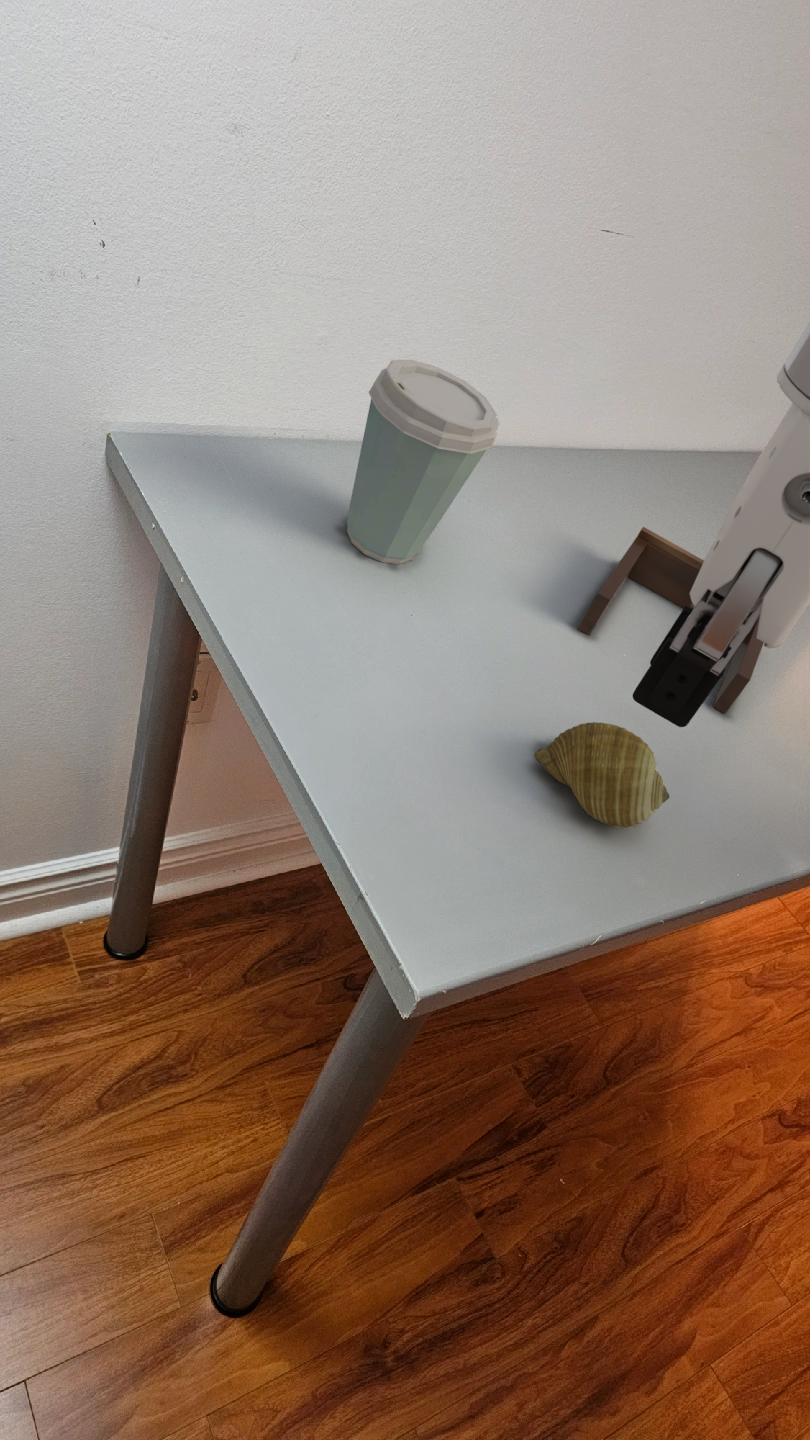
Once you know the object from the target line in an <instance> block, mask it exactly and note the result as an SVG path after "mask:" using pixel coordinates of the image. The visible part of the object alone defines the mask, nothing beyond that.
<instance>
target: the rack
mask: <svg viewBox="0 0 810 1440" xmlns="http://www.w3.org/2000/svg"><path fill="white" fill-rule="evenodd" d="M704 560H705V559H703V558H700V557H699V556H697V555H695V554H693V553H691V552H690V551H688V550H686V549H685V548H683V547H680V546H679V545H677V544H676V543H673V542H672V541H670V540H668V539H666V538H665V537H663V536H661V535H659V534H658V533H655V532H654V531H652V530H650V529H649V528H647V527H645V526H642V528H640V530H639V532H638V534H637V536H636V537H635V538H634V540H633V542H632V543H631V544H630V546H629V548H628V549H627V550H626V552H625V553H624V554H623V556H622V557H621V558H620V560H619V562H618V563H617V564H616V565H615V567H614V568H613V570H612V571H611V573H610V575H609V576H608V578H606V580H605V582H604V583H603V584H602V586H601V587H600V589H599V590H598V592H597V594H596V595H595V597H594V598H593V600H592V602H591V604H590V605H589V607H588V608H587V611H586V613H585V614H584V616H583V618H582V619H581V621H580V624H579V625H578V627H577V629H578V630H579V631H580V632H583V634H586V635H588V636H591V634H592V632H593V631H594V630H595V628H596V627H597V625H598V624H599V622H600V621H601V619H602V617H603V616H604V614H605V613H606V611H607V610H608V608H609V607H610V605H611V604H612V603H613V601H614V599H615V598H616V596H617V595H618V593H619V592H620V591H621V589H622V587H623V586H624V585H625V583H626V581H627V580H628V578H630V579H631V580H633V581H634V582H636V583H638V584H640V585H641V586H643V587H645V588H647V589H648V590H650V591H652V592H654V593H655V594H657V595H659V596H660V597H662V598H664V599H666V600H668V601H669V602H672V603H673V604H675V605H677V606H679V607H680V608H682V609H684V607H685V606H687V607H689V608H690V609H692V610H693V609H694V608H693V607H692V606H691V604H692V601H691V597H690V591H691V589H692V587H693V585H694V582H695V580H696V578H697V576H698V573H699V571H700V569H701V567H702V564H703V562H704ZM759 619H760V617H759V618H758V619H757V621H756V622H755V624H754V625H753V627H752V628H751V630H750V632H749V633H748V634H747V635H746V637H745V638H744V640H743V641H742V643H741V644H740V646H739V647H738V648H737V650H736V651H735V653H734V654H733V656H732V657H731V661H730V664H729V666H728V668H727V671H726V674H725V675H724V678H723V681H722V683H721V686H720V688H719V691H718V694H717V696H716V698H715V700H714V703H713V705H712V708H713V709H715V710H717V711H719V712H721V713H723V714H727V712H728V711H729V710H730V708H731V707H732V705H733V704H734V703H735V702H736V701H737V700H738V697H739V696H740V694H741V693H742V692H743V691H744V689H745V688H746V687H747V685H748V684H749V683H750V682H751V679H752V676H753V673H754V671H755V668H756V665H757V662H758V660H759V657H760V654H761V652H762V649H763V646H764V642H762V641H761V640H759V639H757V638H756V637H757V631H758V625H759Z"/></svg>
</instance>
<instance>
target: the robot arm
mask: <svg viewBox="0 0 810 1440" xmlns="http://www.w3.org/2000/svg"><path fill="white" fill-rule="evenodd" d="M776 382H777V384H778V385H779V388H780V389H781V391H782V392H783V394H784V395H785V396H786V397H787V399H789V401H790V402H792V403H791V405H790V406H789V408H788V409H787V411H786V412H785V415H784V416H783V418H782V419H781V421H780V423H779V424H778V425H777V427H776V428H775V431H774V432H773V434H772V436H771V437H770V438H769V440H768V441H767V443H766V445H765V447H764V449H763V450H762V452H761V453H760V455H759V457H758V459H756V462H755V464H754V465H753V467H752V469H751V470H750V472H749V474H748V475H747V477H746V478H745V480H744V482H743V484H742V486H741V487H740V489H739V491H738V492H737V494H736V496H735V498H734V500H733V501H732V504H730V507H729V509H728V511H727V512H726V515H725V517H724V518H723V521H722V522H721V524H720V527H719V529H718V530H717V533H716V535H715V537H714V539H713V541H712V543H711V545H710V547H709V549H708V551H707V553H706V556H705V558H704V559H703V560H704V562H703V564H702V567H701V569H700V571H699V573H698V576H697V578H696V580H695V582H694V585H693V587H692V589H691V591H690V597H691V601H692V604H691V606H692V607H693V608H694V609H693V610H692V609H690V608H689V607H687V606H685V607H684V608H682V610H681V612H680V613H679V615H678V617H677V618H676V619H675V621H674V622H673V624H672V626H671V628H670V629H669V631H668V632H667V633H666V635H665V637H664V638H663V640H662V641H661V642H660V645H659V646H658V648H657V649H656V651H655V652H654V654H653V655H652V657H651V659H650V661H649V664H650V666H649V667H648V669H647V670H646V672H645V673H644V675H643V677H642V678H641V680H640V681H639V682H638V684H637V686H636V687H635V689H634V691H633V692H632V700H633V701H634V702H635V703H637V704H639V705H640V706H642V707H644V708H645V709H647V710H649V711H650V712H652V713H654V714H656V715H658V716H659V717H660V718H663V719H664V720H666V721H667V722H669V723H671V724H673V725H675V726H676V727H678V728H684V727H687V726H688V725H689V724H690V722H691V721H692V719H693V718H694V717H695V715H696V713H697V712H698V711H699V710H700V708H701V706H702V705H703V704H704V702H705V700H707V698H708V697H709V695H710V694H711V692H712V691H713V689H714V688H715V687H716V685H717V684H718V683H719V682H720V680H721V679H722V677H723V675H724V674H725V672H726V668H725V667H726V666H727V665H728V663H729V661H730V660H732V658H733V656H734V654H735V651H736V650H737V648H738V647H739V646H740V644H741V643H742V641H743V640H744V638H745V637H746V635H747V634H748V633H749V632H750V630H751V628H752V627H753V625H754V624H755V622H756V621H757V619H758V618H759V617H760V619H759V625H758V631H757V637H756V638H757V639H759V640H761V641H762V642H764V643H763V646H764V647H765V648H766V649H769V650H770V649H775V648H778V647H780V646H782V645H783V644H784V642H785V641H786V639H787V638H788V637H789V635H790V633H791V632H792V630H793V629H794V627H795V626H796V624H797V623H798V622H799V620H800V619H801V617H802V615H803V614H804V613H805V611H806V609H807V608H808V606H809V605H810V321H809V322H808V324H807V326H806V327H805V329H804V330H803V332H802V334H801V336H800V337H799V339H797V342H796V343H795V345H794V346H793V349H792V350H791V352H790V354H789V355H788V357H787V359H786V360H785V362H784V363H783V365H782V367H781V368H780V369H779V372H778V373H777V374H776Z"/></svg>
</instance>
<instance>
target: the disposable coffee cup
mask: <svg viewBox="0 0 810 1440" xmlns="http://www.w3.org/2000/svg"><path fill="white" fill-rule="evenodd" d="M368 394H369V396H370V403H369V407H368V412H367V418H366V422H365V427H364V432H363V438H362V442H361V448H360V453H359V457H358V462H357V467H356V473H355V476H354V483H353V487H352V491H351V496H350V501H349V508H348V513H347V517H346V522H345V524H346V527H347V529H346V532H347V535H348V538H349V541H350V543H351V544H352V545H353V546H354V547H356V549H358V550H359V551H360V552H361V553H362V554H364V555H366V556H367V557H369V558H372V559H374V560H376V561H378V562H381V563H386V564H395V565H402V564H403V563H407V562H409V561H412V560H413V558H414V557H416V556H418V555H419V554H420V552H421V550H422V549H423V548H424V546H425V545H426V543H427V541H428V540H429V539H430V537H431V535H432V534H433V532H434V531H435V529H436V528H437V526H438V525H439V523H440V522H441V520H442V519H443V517H444V515H445V514H446V513H447V511H448V509H449V508H450V506H451V505H452V503H453V502H454V500H455V499H456V497H457V496H458V494H459V493H460V491H461V490H462V489H463V487H464V485H465V484H466V482H467V480H468V479H469V478H470V476H471V474H472V473H473V471H474V470H475V468H476V467H477V465H478V464H479V463H480V461H481V459H482V458H483V456H484V455H485V454H486V452H487V450H489V449H490V450H491V449H492V448H493V446H494V443H495V440H496V438H497V435H498V429H499V427H500V420H499V419H498V417H497V416H498V414H497V412H496V411H495V409H494V408H493V406H492V404H491V403H490V402H489V400H488V398H487V397H486V396H485V395H484V394H482V393H481V392H480V391H479V390H477V389H476V388H475V387H474V386H472V385H471V383H468V382H467V381H466V380H464V379H463V378H460V377H458V376H456V375H454V374H452V373H450V372H449V371H447V370H444V369H443V368H440V367H438V366H435V365H432V364H428V363H425V362H422V361H417V360H415V359H392V360H391V361H390V363H389V364H388V365H387V367H386V368H384V369H382V370H381V371H380V372H379V374H378V376H377V377H376V379H375V381H374V382H373V385H371V387H370V389H369V390H368Z"/></svg>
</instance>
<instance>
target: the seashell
mask: <svg viewBox="0 0 810 1440" xmlns="http://www.w3.org/2000/svg"><path fill="white" fill-rule="evenodd" d="M654 754H655V753H654V752H653V750H652V749H651V748H650V747H649V745H648V743H646V742H645V741H644V740H643V739H642V738H641V737H640V736H638V735H636V734H634V732H633V731H631V730H628V729H627V728H625V727H622V726H619V725H616V724H611V723H605V722H596V721H592V722H586V723H580V724H578V725H575V726H572V727H571V728H567V729H566V730H565V731H563V732H560V733H559V735H558V736H556V737H555V738H554V740H553V741H552V742H550V743H549V744H548V745H547V746H546V747H543V748H538V750H537V751H535V752H534V755H533V757H534V759H535V760H536V761H537V762H538V763H539V764H541V766H542V767H543V768H544V769H545V770H546V772H547V773H549V775H551V777H553V778H554V779H555V780H556V781H557V782H559V783H561V784H563V785H564V786H567V787H569V788H571V790H572V793H573V795H574V797H575V798H576V800H577V802H578V804H579V805H580V806H581V807H582V809H583V810H584V811H585V813H586V814H587V815H589V816H590V817H591V818H592V819H594V820H596V821H598V822H599V823H601V824H604V825H606V826H610V827H614V828H616V827H617V828H619V829H620V828H621V829H622V828H630V827H635V826H637V825H638V826H639V825H641V824H642V823H643V822H645V821H647V820H648V819H649V818H650V817H651V816H653V814H654V813H655V812H656V810H658V809H659V808H660V807H661V806H662V805H663V804H664V803H666V802H667V801H668V800H669V799H670V794H669V792H668V790H667V787H666V786H665V784H664V780H663V777H662V775H661V774H660V772H658V770H657V769H656V768H657V761H656V759H655V755H654Z"/></svg>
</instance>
